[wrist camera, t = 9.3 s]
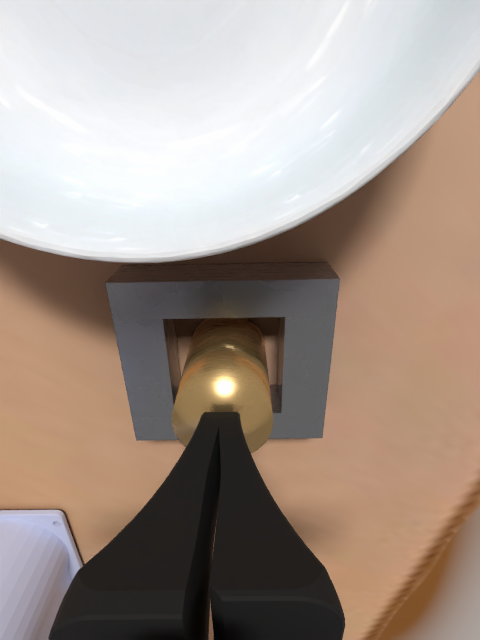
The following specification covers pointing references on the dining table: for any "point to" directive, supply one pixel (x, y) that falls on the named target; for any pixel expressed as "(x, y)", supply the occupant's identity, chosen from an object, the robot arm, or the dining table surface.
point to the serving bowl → (211, 115)
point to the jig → (225, 302)
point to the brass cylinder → (225, 379)
